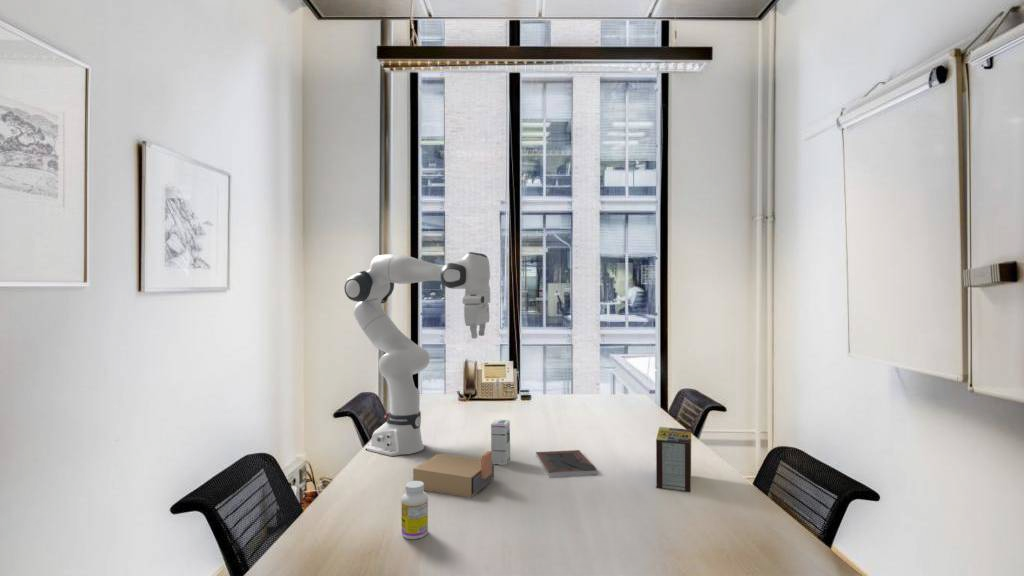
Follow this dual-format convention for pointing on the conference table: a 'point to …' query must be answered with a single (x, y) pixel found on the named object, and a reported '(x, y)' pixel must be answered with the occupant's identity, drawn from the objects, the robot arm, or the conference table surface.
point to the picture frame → (565, 463)
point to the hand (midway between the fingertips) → (478, 337)
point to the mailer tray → (483, 472)
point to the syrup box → (500, 442)
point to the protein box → (673, 459)
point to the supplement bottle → (414, 511)
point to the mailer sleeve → (448, 474)
